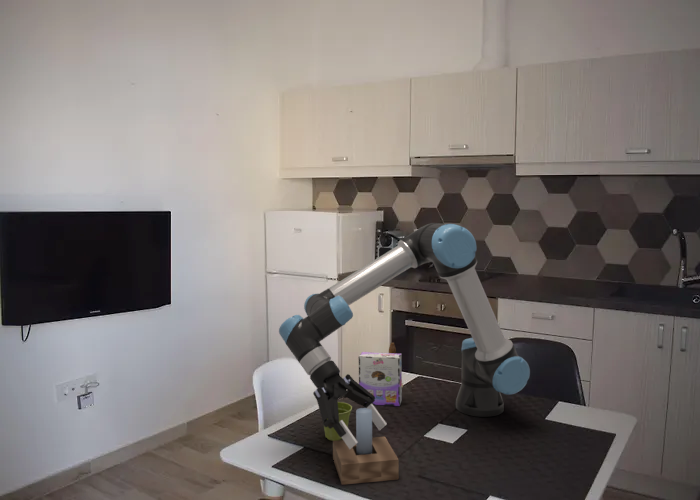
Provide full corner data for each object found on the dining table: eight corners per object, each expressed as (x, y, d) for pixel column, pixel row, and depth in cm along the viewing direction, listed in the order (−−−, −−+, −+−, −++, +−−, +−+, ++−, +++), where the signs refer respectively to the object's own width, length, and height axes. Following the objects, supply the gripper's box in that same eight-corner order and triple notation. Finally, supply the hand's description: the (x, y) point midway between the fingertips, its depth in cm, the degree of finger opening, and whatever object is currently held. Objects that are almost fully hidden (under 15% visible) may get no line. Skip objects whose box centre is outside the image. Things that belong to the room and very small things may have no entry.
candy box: (402, 401, 198) (402, 353, 196) (399, 407, 192) (399, 357, 190) (362, 398, 201) (361, 350, 199) (358, 404, 195) (358, 355, 194)
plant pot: (348, 445, 163) (348, 414, 162) (315, 442, 165) (315, 412, 164) (355, 431, 172) (355, 402, 171) (323, 429, 174) (323, 400, 173)
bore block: (384, 454, 157) (384, 436, 156) (398, 479, 143) (398, 459, 143) (333, 459, 154) (332, 440, 154) (341, 484, 140) (341, 464, 140)
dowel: (370, 460, 151) (370, 407, 150) (373, 467, 147) (373, 413, 146) (355, 461, 150) (354, 408, 149) (358, 468, 146) (357, 414, 145)
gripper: (339, 364, 166) (385, 427, 159) (281, 389, 145) (331, 462, 138) (355, 349, 162) (402, 412, 155) (297, 371, 142) (349, 446, 135)
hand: (369, 436), depth 147 cm, fingers open, 13 cm apart
